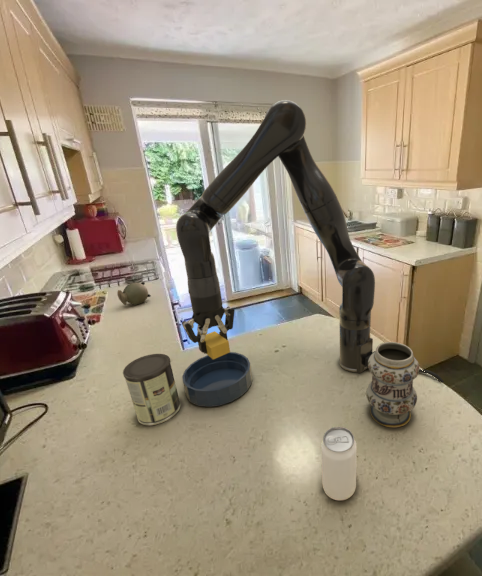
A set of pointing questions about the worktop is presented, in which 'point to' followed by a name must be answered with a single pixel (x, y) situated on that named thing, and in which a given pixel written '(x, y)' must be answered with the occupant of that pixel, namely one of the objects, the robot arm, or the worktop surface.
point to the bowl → (217, 379)
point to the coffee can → (152, 388)
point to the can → (338, 463)
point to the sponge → (216, 345)
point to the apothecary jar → (392, 384)
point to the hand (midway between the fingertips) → (214, 348)
